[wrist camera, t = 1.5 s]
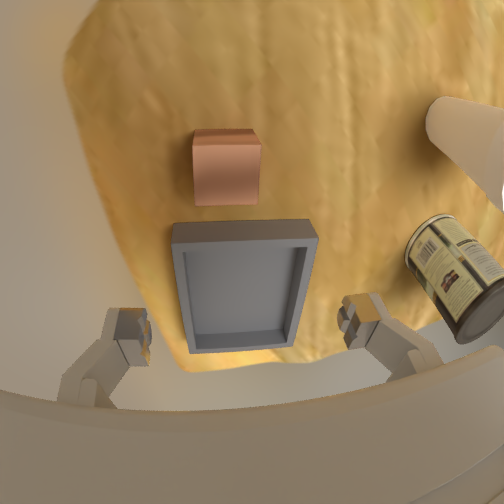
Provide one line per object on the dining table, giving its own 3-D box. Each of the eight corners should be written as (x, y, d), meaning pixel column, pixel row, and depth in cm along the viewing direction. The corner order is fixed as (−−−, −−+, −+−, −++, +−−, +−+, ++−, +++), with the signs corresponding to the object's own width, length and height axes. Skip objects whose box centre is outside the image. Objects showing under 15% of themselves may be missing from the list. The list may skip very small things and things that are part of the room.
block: (195, 129, 24) (192, 146, 20) (252, 128, 25) (261, 144, 21) (196, 180, 27) (194, 206, 23) (249, 179, 28) (257, 204, 24)
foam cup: (402, 105, 24) (497, 154, 14) (456, 70, 21) (550, 105, 11) (430, 173, 29) (504, 238, 19) (477, 137, 27) (553, 187, 16)
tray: (173, 223, 29) (170, 243, 27) (308, 219, 31) (318, 238, 29) (189, 333, 40) (189, 353, 38) (287, 326, 42) (292, 346, 39)
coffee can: (447, 264, 40) (495, 330, 29) (397, 277, 39) (444, 354, 28) (466, 209, 33) (529, 274, 22) (413, 216, 33) (480, 295, 22)
